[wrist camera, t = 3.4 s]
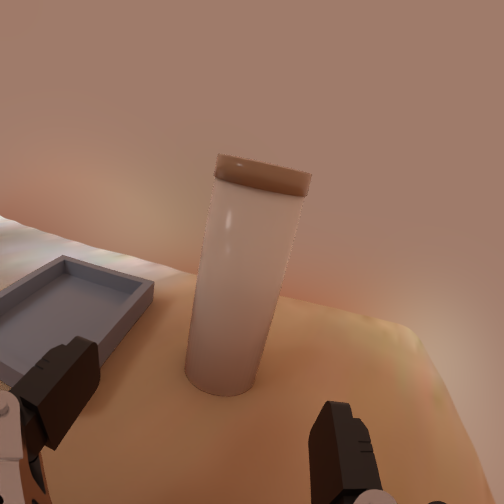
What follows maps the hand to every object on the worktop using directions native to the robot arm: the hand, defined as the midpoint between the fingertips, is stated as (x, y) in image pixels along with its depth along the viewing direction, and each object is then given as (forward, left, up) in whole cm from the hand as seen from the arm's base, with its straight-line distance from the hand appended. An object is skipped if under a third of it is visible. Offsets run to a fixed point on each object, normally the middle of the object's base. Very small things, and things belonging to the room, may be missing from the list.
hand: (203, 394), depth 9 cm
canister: (0, +10, -7) cm, 12 cm away
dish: (-13, +9, -7) cm, 17 cm away
